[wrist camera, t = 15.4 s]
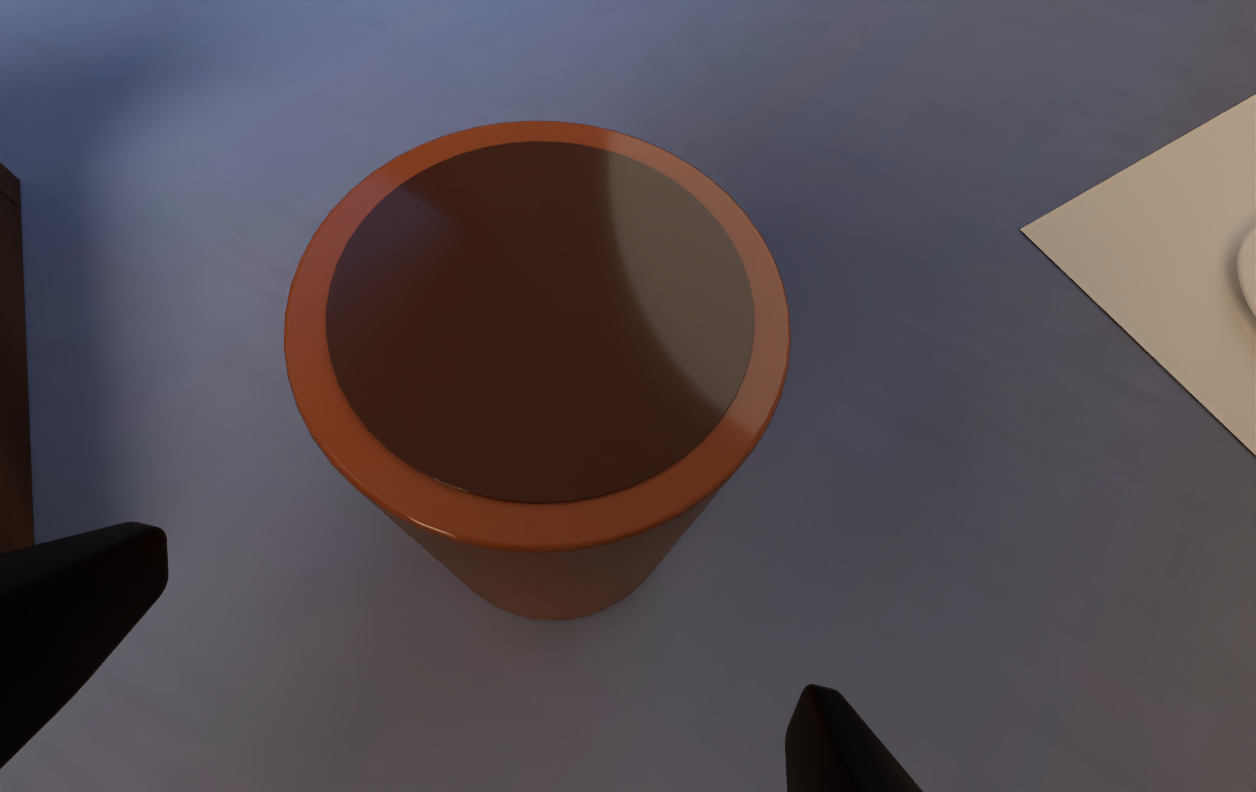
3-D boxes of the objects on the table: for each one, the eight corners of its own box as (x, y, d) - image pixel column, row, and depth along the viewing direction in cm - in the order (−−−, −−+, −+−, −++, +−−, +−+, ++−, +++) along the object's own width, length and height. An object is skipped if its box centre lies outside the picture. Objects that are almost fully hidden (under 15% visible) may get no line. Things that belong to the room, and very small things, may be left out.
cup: (524, 678, 14) (461, 686, 6) (388, 468, 16) (189, 238, 7) (724, 518, 16) (895, 351, 8) (584, 347, 18) (600, 60, 9)
